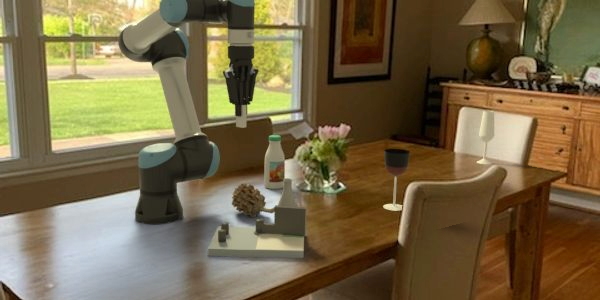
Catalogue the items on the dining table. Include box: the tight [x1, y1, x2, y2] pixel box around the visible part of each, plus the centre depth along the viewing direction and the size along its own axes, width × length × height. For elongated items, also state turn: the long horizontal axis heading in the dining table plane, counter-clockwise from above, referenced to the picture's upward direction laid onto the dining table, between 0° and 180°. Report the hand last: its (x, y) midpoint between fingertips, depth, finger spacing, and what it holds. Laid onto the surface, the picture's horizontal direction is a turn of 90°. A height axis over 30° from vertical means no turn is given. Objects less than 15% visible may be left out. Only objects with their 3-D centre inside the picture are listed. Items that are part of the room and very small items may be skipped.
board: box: [207, 221, 305, 259], centre depth 171 cm, size 26×18×5 cm
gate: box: [255, 204, 307, 237], centre depth 173 cm, size 15×2×8 cm, turn 81°
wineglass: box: [382, 148, 411, 212], centre depth 206 cm, size 8×9×20 cm
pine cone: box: [231, 183, 274, 218], centre depth 194 cm, size 22×10×10 cm, turn 44°
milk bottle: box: [263, 134, 286, 190], centre depth 228 cm, size 8×8×20 cm
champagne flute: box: [476, 110, 495, 165], centre depth 273 cm, size 7×7×24 cm
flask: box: [277, 177, 298, 207], centre depth 204 cm, size 7×7×10 cm
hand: (241, 126), depth 174 cm, fingers closed
